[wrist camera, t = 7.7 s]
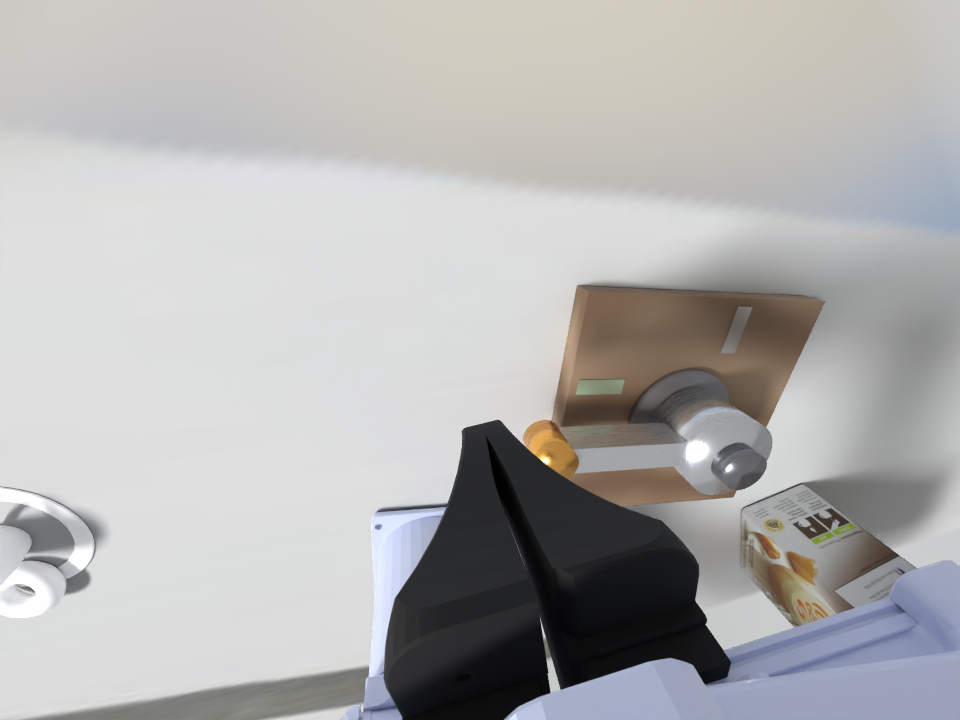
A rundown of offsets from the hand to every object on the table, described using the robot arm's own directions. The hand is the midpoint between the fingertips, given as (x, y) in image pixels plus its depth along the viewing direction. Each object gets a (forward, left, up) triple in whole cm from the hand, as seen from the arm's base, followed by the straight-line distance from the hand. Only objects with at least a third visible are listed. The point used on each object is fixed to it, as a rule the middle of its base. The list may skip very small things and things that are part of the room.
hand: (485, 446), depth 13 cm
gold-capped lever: (-4, -11, -7) cm, 13 cm away
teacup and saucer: (-14, +28, -10) cm, 33 cm away
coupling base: (-4, -15, -9) cm, 18 cm away
